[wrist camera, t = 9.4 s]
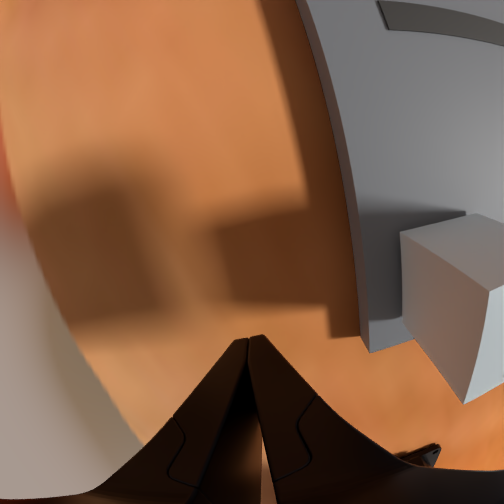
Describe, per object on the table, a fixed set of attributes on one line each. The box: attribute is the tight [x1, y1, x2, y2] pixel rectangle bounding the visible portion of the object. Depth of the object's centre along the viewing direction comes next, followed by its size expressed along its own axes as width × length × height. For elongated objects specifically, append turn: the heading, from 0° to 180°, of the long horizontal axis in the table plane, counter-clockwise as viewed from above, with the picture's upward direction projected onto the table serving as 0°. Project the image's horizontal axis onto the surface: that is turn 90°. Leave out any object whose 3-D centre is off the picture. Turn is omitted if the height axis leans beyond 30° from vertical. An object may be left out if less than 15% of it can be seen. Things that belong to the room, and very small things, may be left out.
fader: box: [400, 213, 504, 405], centre depth 7 cm, size 4×4×5 cm
